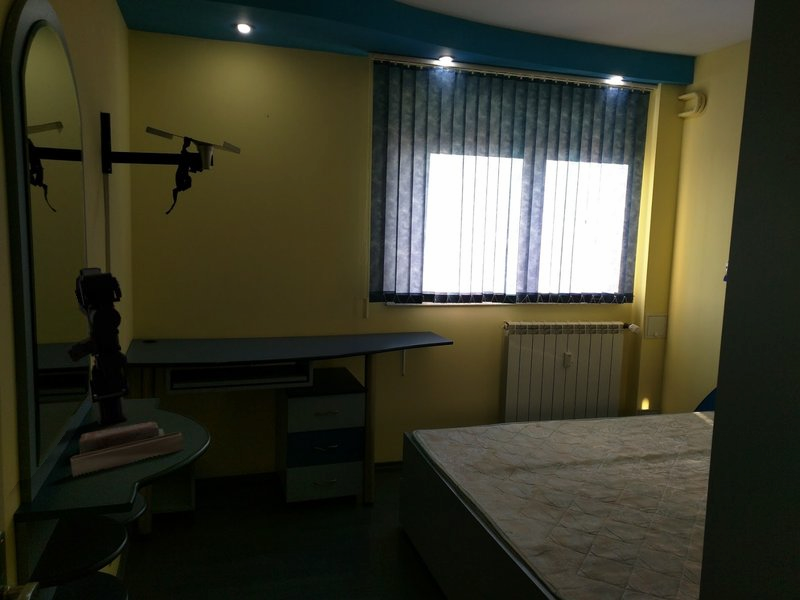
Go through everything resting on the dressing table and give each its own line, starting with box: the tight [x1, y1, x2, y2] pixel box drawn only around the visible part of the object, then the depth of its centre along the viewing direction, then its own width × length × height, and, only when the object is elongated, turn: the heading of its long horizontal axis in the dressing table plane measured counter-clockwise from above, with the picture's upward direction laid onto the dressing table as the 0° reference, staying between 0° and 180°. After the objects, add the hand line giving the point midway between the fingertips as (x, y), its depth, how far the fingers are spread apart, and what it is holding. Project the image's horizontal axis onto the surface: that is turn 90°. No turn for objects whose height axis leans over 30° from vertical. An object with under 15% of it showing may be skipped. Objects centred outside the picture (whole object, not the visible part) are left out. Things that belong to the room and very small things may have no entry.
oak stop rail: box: [69, 431, 185, 478], centre depth 127 cm, size 2×22×4 cm, turn 122°
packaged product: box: [78, 421, 165, 455], centre depth 135 cm, size 18×5×10 cm
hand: (112, 388), depth 142 cm, fingers closed
